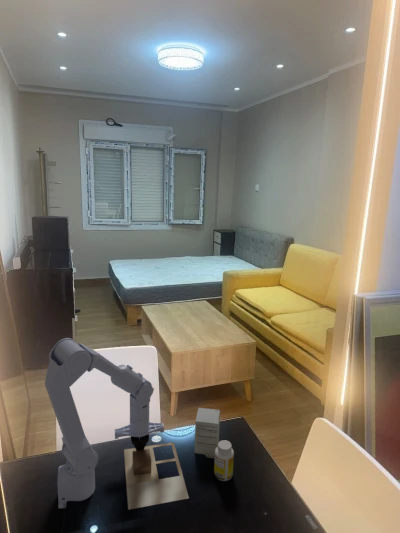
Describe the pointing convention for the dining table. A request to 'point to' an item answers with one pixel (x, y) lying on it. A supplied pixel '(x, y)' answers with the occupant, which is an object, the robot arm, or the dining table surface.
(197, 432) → the supplement box
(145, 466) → the walnut block
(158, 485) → the board
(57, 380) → the robot arm
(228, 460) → the supplement bottle
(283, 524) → the dining table surface
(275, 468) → the dining table surface
